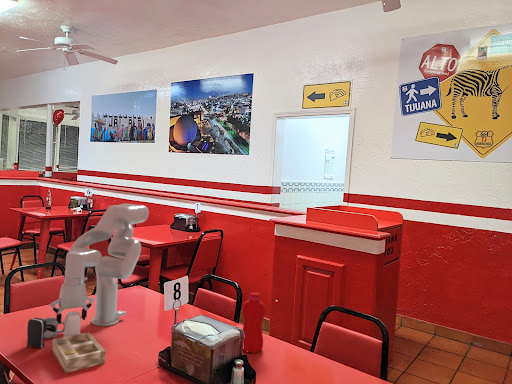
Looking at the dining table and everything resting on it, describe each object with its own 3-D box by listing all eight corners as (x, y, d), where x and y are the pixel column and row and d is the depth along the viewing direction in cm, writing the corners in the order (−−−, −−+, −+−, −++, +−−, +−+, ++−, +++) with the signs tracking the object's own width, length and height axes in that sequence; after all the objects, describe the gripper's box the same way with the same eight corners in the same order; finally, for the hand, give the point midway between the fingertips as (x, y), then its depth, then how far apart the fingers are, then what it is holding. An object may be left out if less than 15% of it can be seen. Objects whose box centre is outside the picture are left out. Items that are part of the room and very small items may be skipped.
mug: (39, 339, 173) (40, 323, 172) (41, 332, 179) (42, 318, 179) (65, 337, 177) (66, 322, 176) (66, 330, 183) (67, 316, 182)
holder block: (88, 343, 172) (88, 331, 171) (104, 363, 156) (105, 350, 156) (52, 351, 163) (52, 338, 163) (65, 373, 147) (66, 358, 147)
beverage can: (82, 341, 173) (83, 314, 173) (67, 345, 169) (68, 317, 168) (76, 336, 178) (77, 309, 177) (61, 340, 173) (62, 312, 172)
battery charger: (47, 345, 167) (48, 318, 167) (40, 349, 164) (41, 321, 163) (33, 342, 169) (34, 315, 169) (26, 346, 166) (27, 318, 165)
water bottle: (248, 341, 186) (252, 287, 184) (265, 350, 178) (269, 294, 176) (233, 346, 179) (237, 290, 178) (250, 355, 171) (254, 297, 170)
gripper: (92, 277, 180) (89, 315, 180) (49, 280, 169) (46, 321, 169) (98, 281, 174) (95, 320, 174) (54, 285, 163) (51, 327, 163)
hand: (71, 320), depth 172 cm, fingers open, 9 cm apart
